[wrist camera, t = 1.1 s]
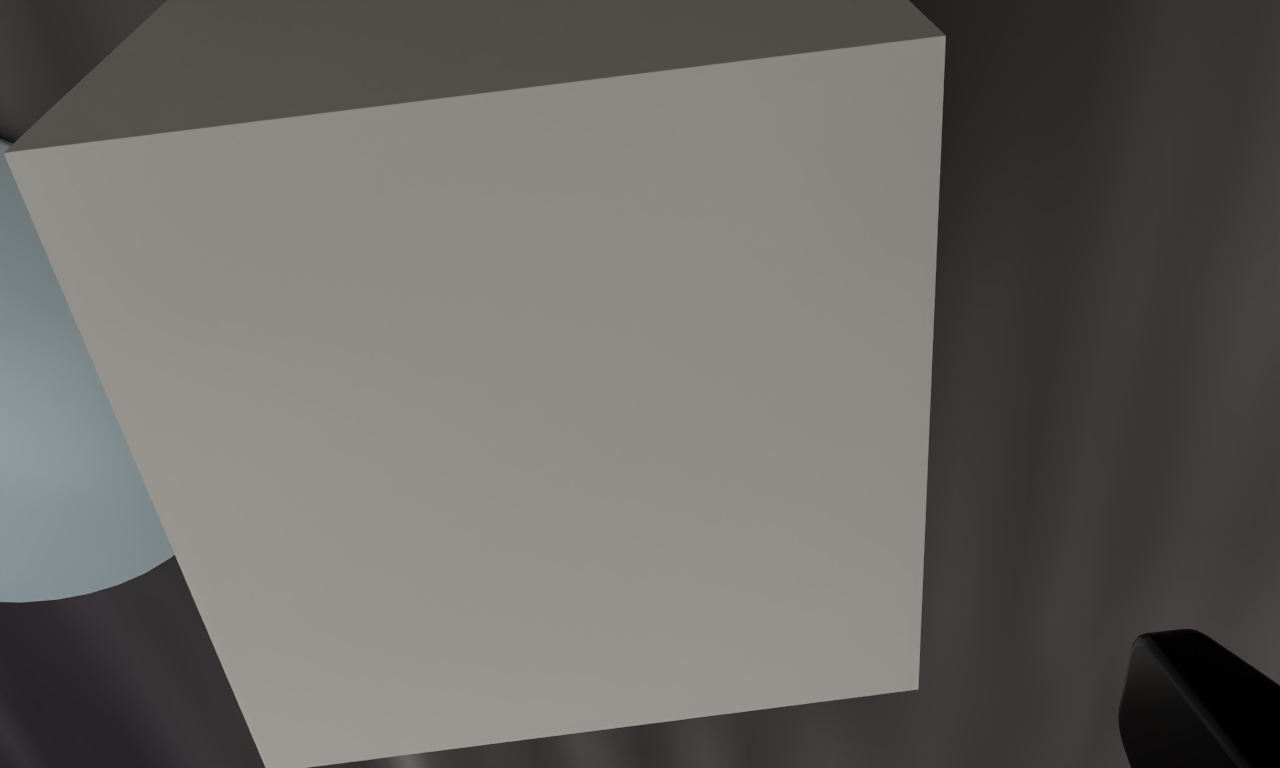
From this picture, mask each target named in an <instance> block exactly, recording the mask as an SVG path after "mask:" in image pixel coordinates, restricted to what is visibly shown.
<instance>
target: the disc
mask: <svg viewBox="0 0 1280 768" xmlns="http://www.w3.org/2000/svg"><path fill="white" fill-rule="evenodd" d="M13 144H14V143H12V142H9V141H7V140H4V139H2V138H0V602H31V601H44V600H56V599H62V598H67V597H73V596H79V595H84V594H89V593H92V592H96V591H99V590H102V589H106V588H109V587H113V586H116V585H119V584H121V583H123V582H126V581H128V580H130V579H133V578H135V577H137V576H140V575H142V574H144V573H146V572H148V571H149V570H151V569H153V568H154V567H156V566H158V565H159V564H161V563H163V562H164V561H166V560H168V559H169V558H171V557H172V556H173V555H174V552H173V549H172V547H171V545H170V542H169V540H168V537H167V535H166V533H165V530H164V528H163V526H162V523H161V521H160V519H159V516H158V514H157V512H156V509H155V507H154V505H153V502H152V500H151V498H150V495H149V493H148V491H147V488H146V486H145V484H144V481H143V479H142V477H141V474H140V472H139V469H138V467H137V465H136V462H135V460H134V458H133V455H132V453H131V451H130V448H129V446H128V444H127V441H126V439H125V437H124V434H123V432H122V430H121V427H120V425H119V423H118V420H117V418H116V416H115V413H114V411H113V409H112V406H111V404H110V401H109V399H108V397H107V394H106V392H105V390H104V387H103V385H102V383H101V380H100V378H99V376H98V373H97V371H96V369H95V366H94V364H93V362H92V359H91V357H90V355H89V352H88V350H87V348H86V345H85V343H84V341H83V338H82V336H81V333H80V331H79V329H78V326H77V324H76V322H75V319H74V317H73V315H72V312H71V310H70V308H69V305H68V303H67V301H66V298H65V296H64V294H63V291H62V289H61V287H60V284H59V282H58V280H57V277H56V275H55V273H54V270H53V268H52V266H51V263H50V261H49V258H48V256H47V254H46V251H45V249H44V247H43V244H42V242H41V240H40V237H39V235H38V233H37V230H36V228H35V226H34V223H33V221H32V219H31V216H30V214H29V212H28V209H27V207H26V205H25V202H24V200H23V198H22V195H21V193H20V190H19V188H18V186H17V183H16V181H15V179H14V176H13V174H12V172H11V169H10V167H9V165H8V162H7V160H6V158H5V155H4V152H5V151H6V150H7V149H8V148H9V147H10V146H12V145H13Z"/></svg>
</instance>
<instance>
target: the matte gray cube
mask: <svg viewBox="0 0 1280 768" xmlns="http://www.w3.org/2000/svg"><path fill="white" fill-rule="evenodd" d="M945 42H946V35H945V34H944V33H943V32H941V31H940V30H939V29H938V28H937V27H936V26H935V25H934V24H933V23H932V22H931V21H930V20H929V19H928V18H927V17H926V16H925V15H924V14H922V13H921V12H920V11H919V10H918V9H917V8H916V7H915V6H914V5H913V4H912V3H911V2H910V1H909V0H167V1H166V2H165V3H164V4H163V5H162V6H161V7H160V8H159V9H157V10H156V11H155V12H154V13H153V14H152V15H151V16H150V17H149V18H148V19H147V20H146V21H145V22H143V23H142V24H141V25H140V26H139V27H138V28H137V29H136V30H135V31H134V32H133V33H132V34H131V35H130V36H128V37H127V38H126V39H125V40H124V41H123V42H122V43H121V44H120V45H119V46H118V47H117V48H116V49H115V50H113V51H112V52H111V53H110V54H109V55H108V56H107V57H106V58H105V59H104V60H103V61H102V62H101V63H99V64H98V65H97V66H96V67H95V68H94V69H93V70H92V71H91V72H90V73H89V74H88V75H87V76H86V77H84V78H83V79H82V80H81V81H80V82H79V83H78V84H77V85H76V86H75V87H74V88H73V89H72V90H71V91H69V92H68V93H67V94H66V95H65V96H64V97H63V98H62V99H61V100H60V101H59V102H58V103H57V104H56V105H54V106H53V107H52V108H51V109H50V110H49V111H48V112H47V113H46V114H45V115H44V116H43V117H42V118H40V119H39V120H38V121H37V122H36V123H35V124H34V125H33V126H32V127H31V128H30V129H29V130H28V131H27V132H25V133H24V134H23V135H22V136H21V137H20V138H19V139H18V140H17V141H16V142H15V143H14V144H13V145H12V146H10V147H9V148H8V149H7V150H6V151H5V152H4V155H5V158H6V160H7V162H8V165H9V167H10V169H11V172H12V174H13V176H14V179H15V181H16V183H17V186H18V188H19V190H20V193H21V195H22V198H23V200H24V202H25V205H26V207H27V209H28V212H29V214H30V216H31V219H32V221H33V223H34V226H35V228H36V230H37V233H38V235H39V237H40V240H41V242H42V244H43V247H44V249H45V251H46V254H47V256H48V258H49V261H50V263H51V266H52V268H53V270H54V273H55V275H56V277H57V280H58V282H59V284H60V287H61V289H62V291H63V294H64V296H65V298H66V301H67V303H68V305H69V308H70V310H71V312H72V315H73V317H74V319H75V322H76V324H77V326H78V329H79V331H80V333H81V336H82V338H83V341H84V343H85V345H86V348H87V350H88V352H89V355H90V357H91V359H92V362H93V364H94V366H95V369H96V371H97V373H98V376H99V378H100V380H101V383H102V385H103V387H104V390H105V392H106V394H107V397H108V399H109V401H110V404H111V406H112V409H113V411H114V413H115V416H116V418H117V420H118V423H119V425H120V427H121V430H122V432H123V434H124V437H125V439H126V441H127V444H128V446H129V448H130V451H131V453H132V455H133V458H134V460H135V462H136V465H137V467H138V469H139V472H140V474H141V477H142V479H143V481H144V484H145V486H146V488H147V491H148V493H149V495H150V498H151V500H152V502H153V505H154V507H155V509H156V512H157V514H158V516H159V519H160V521H161V523H162V526H163V528H164V530H165V533H166V535H167V537H168V540H169V542H170V545H171V547H172V549H173V552H174V554H175V556H176V559H177V561H178V563H179V566H180V568H181V570H182V573H183V575H184V577H185V580H186V582H187V584H188V587H189V589H190V591H191V594H192V596H193V598H194V601H195V603H196V605H197V608H198V610H199V612H200V615H201V617H202V620H203V622H204V624H205V627H206V629H207V631H208V634H209V636H210V638H211V641H212V643H213V645H214V648H215V650H216V652H217V655H218V657H219V659H220V662H221V664H222V666H223V669H224V671H225V673H226V676H227V678H228V680H229V683H230V685H231V688H232V690H233V692H234V695H235V697H236V699H237V702H238V704H239V706H240V709H241V711H242V713H243V716H244V718H245V720H246V723H247V725H248V727H249V730H250V732H251V734H252V737H253V739H254V741H255V744H256V746H257V748H258V751H259V753H260V756H261V758H262V760H263V763H264V765H265V767H266V768H307V767H315V766H322V765H330V764H338V763H346V762H354V761H362V760H369V759H377V758H385V757H393V756H401V755H408V754H416V753H424V752H432V751H440V750H448V749H455V748H463V747H471V746H479V745H487V744H494V743H502V742H510V741H518V740H526V739H534V738H541V737H549V736H557V735H565V734H573V733H580V732H588V731H596V730H604V729H612V728H620V727H627V726H635V725H643V724H651V723H659V722H667V721H674V720H682V719H690V718H698V717H706V716H713V715H721V714H729V713H737V712H745V711H753V710H760V709H768V708H776V707H784V706H792V705H799V704H807V703H815V702H823V701H831V700H839V699H846V698H854V697H862V696H870V695H878V694H885V693H893V692H901V691H909V690H917V689H918V682H919V659H920V635H921V611H922V587H923V564H924V540H925V516H926V493H927V469H928V445H929V422H930V398H931V374H932V350H933V327H934V303H935V279H936V256H937V232H938V208H939V184H940V161H941V137H942V113H943V90H944V66H945Z"/></svg>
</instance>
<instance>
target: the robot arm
mask: <svg viewBox="0 0 1280 768" xmlns="http://www.w3.org/2000/svg"><path fill="white" fill-rule="evenodd" d="M1119 729H1120V735H1121V739H1122V743H1123V746H1124V749H1125V752H1126V754H1127V757H1128V760H1129V763H1130V766H1131V768H1280V685H1279V684H1277V683H1276V682H1274V681H1273V680H1271V679H1270V678H1268V677H1267V676H1266V675H1264V674H1263V673H1261V672H1260V671H1258V670H1257V669H1255V668H1254V667H1252V666H1251V665H1249V664H1248V663H1247V662H1245V661H1244V660H1242V659H1241V658H1239V657H1238V656H1236V655H1235V654H1233V653H1232V652H1230V651H1229V650H1228V649H1226V648H1225V647H1223V646H1222V645H1220V644H1219V643H1217V642H1216V641H1214V640H1213V639H1211V638H1210V637H1209V636H1207V635H1205V634H1203V633H1201V632H1199V631H1196V630H1192V629H1179V630H1171V631H1162V632H1154V633H1145V634H1143V635H1140V636H1139V637H1138V638H1137V639H1136V640H1135V641H1134V643H1133V645H1132V648H1131V651H1130V656H1129V661H1128V666H1127V671H1126V676H1125V681H1124V686H1123V691H1122V696H1121V701H1120V706H1119Z"/></svg>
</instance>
